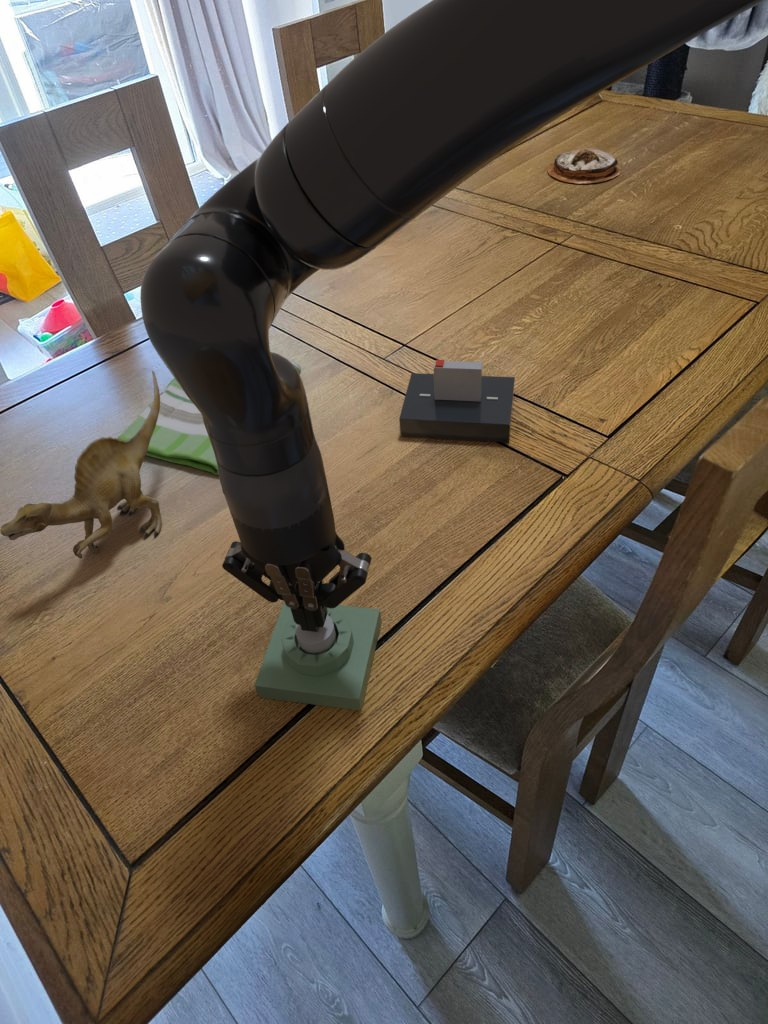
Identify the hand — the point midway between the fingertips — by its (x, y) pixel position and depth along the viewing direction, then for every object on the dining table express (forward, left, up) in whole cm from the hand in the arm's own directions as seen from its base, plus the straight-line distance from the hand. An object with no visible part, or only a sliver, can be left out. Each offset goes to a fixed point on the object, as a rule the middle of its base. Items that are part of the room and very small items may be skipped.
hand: (312, 623), depth 64 cm
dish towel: (+25, -37, -6) cm, 45 cm away
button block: (0, 0, -6) cm, 6 cm away
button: (0, 0, -2) cm, 2 cm away
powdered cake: (-26, -123, -6) cm, 126 cm away
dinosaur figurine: (+27, -16, -6) cm, 32 cm away
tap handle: (-9, -39, -3) cm, 40 cm away
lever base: (-9, -39, -6) cm, 40 cm away
